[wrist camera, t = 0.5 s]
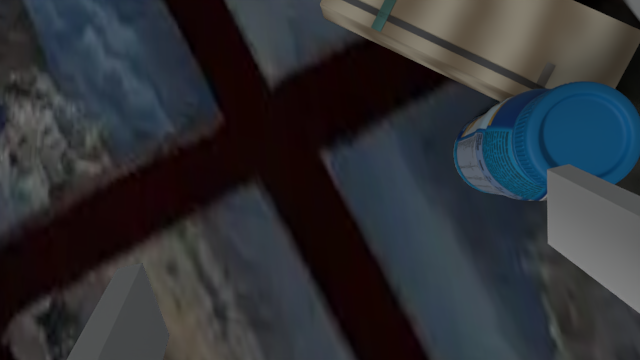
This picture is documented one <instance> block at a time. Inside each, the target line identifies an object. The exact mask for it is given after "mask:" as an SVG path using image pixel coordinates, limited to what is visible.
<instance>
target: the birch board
mask: <svg viewBox="0 0 640 360" xmlns="http://www.w3.org/2000/svg"><path fill="white" fill-rule="evenodd" d="M320 5H321V8H322V12H323V15H324V18H325V19H327V20H329V21H331V22H334V23H336V24H338V25H340V26H342V27H344V28H346V29H348V30H350V31H353V32H355V33H357V34H359V35H361V36H363V37H365V38H367V39H369V40H371V41H374V42H376V43H378V44H380V45H382V46H384V47H386V48H388V49H390V50H393V51H395V52H397V53H399V54H401V55H403V56H405V57H407V58H409V59H412V60H414V61H416V62H418V63H420V64H422V65H424V66H426V67H428V68H430V69H433V70H435V71H437V72H439V73H441V74H443V75H445V76H447V77H449V78H452V79H454V80H456V81H458V82H460V83H462V84H464V85H466V86H468V87H470V88H473V89H475V90H477V91H479V92H481V93H483V94H485V95H487V96H489V97H492V98H494V99H496V100H498V101H500V102H501V101H503V100H505V99H507V98H510V97H512V96H515V95H517V94H520V93H522V92H525V91H529V90H533V89H553V88H555V87H557V86H560V85H563V84H565V83H567V84H568V83H570V82H572V83H573V82H580V81H589V82H597V83H601V84H605V85H607V86H610V87H612V88H614V89H615V88H616V86H617V84H618V82H619V80H620V79H621V77H622V75H623V73H624V71H625V69H626V68H627V66H628V64H629V62H630V60H631V58H632V56H633V55H634V53H635V51H636V49H637V47H638V45H639V43H640V30H639V29H636V28H634V27H632V26H630V25H627V24H625V23H623V22H621V21H619V20H616V19H614V18H612V17H610V16H607V15H605V14H603V13H601V12H598V11H596V10H594V9H592V8H589V7H587V6H585V5H583V4H580V3H578V2H576V1H574V0H322V1H321V3H320Z"/></svg>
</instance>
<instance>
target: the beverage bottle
mask: <svg viewBox="0 0 640 360" xmlns="http://www.w3.org/2000/svg"><path fill="white" fill-rule="evenodd" d="M639 156H640V116H639V114H638V112H637V110H636V108H635V107H634V105H633V104H632V103H631V102H630V100H629V99H628V98H627V97H626V96H624V95H623V94H622V93H621V92H619V91H618V90H616V89H614V88H612V87H610V86H607V85H605V84H601V83H597V82H589V81H580V82H573V83H572V82H570V83H568V84H567V83H565V84H563V85H560V86H557V87H555V88H553V89H533V90H529V91H525V92H522V93H520V94H517V95H515V96H512V97H510V98H507V99H505V100H503V101H501V102H499V103H498V104H496V105H495V106H494V107H492V108H491V109H490V110H489V111H488V112H487V113H486V114H483V115H480V116H478V117H476V118H474V119H473V120H471V121H470V122H469V123H468V124H466V125H465V126H464V128H463V129H462V130H461V131H460V133H459V135H458V137H457V139H456V142H455V146H454V161H455V165H456V168H457V170H458V172H459V174H460V176H461V177H462V178H463V179H464V181H465V182H466V183H468V184H469V185H470V186H471V187H473V188H475V189H477V190H479V191H482V192H485V193H490V194H500V195H505V196H508V197H510V198H514V199H519V200H539V201H545V200H547V169H550V168H555V167H559V166H563V165H568V164H570V165H572V166H574V167H577V168H579V169H581V170H583V171H585V172H588V173H590V174H592V175H594V176H596V177H599V178H601V179H603V180H605V181H607V182H609V183H612V184H616V183H617V182H619V181H620V180H622V179H623V178H624V177H625V176H626V175H627V174H628V173H629V172H630V171H631V170H632V168H633V167H634V166H635V164H636V162H637V160H638V158H639Z"/></svg>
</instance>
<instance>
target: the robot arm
mask: <svg viewBox="0 0 640 360" xmlns="http://www.w3.org/2000/svg"><path fill="white" fill-rule="evenodd" d="M547 209H548V244H549V245H551V246H552V247H553V248H555V249H556V250H557V251H559V252H560V253H561V254H562V255H564V256H565V257H566V258H568V259H569V260H570V261H572V262H573V263H574V264H576V265H577V266H578V267H580V268H581V269H582V270H584V271H585V272H586V273H587V274H589V275H590V276H591V277H593V278H594V279H595V280H597V281H598V282H599V283H601V284H602V285H603V286H605V287H606V288H607V289H609V290H610V291H611V292H612V293H614V294H615V295H616V296H618V297H619V298H620V299H622V300H623V301H624V302H626V303H627V304H628V305H630V306H631V307H632V308H633V309H635V310H636V311H637V312H639V313H640V196H638V195H636V194H634V193H631V192H629V191H627V190H625V189H623V188H620V187H618V186H616V185H614V184H612V183H609V182H607V181H605V180H603V179H601V178H599V177H596V176H594V175H592V174H590V173H588V172H585V171H583V170H581V169H579V168H577V167H574V166H572V165H570V164H568V165H563V166H559V167H555V168H550V169H547ZM168 339H169V333H168V330H167V327H166V325H165V322H164V319H163V317H162V314H161V311H160V309H159V306H158V303H157V301H156V298H155V295H154V293H153V290H152V287H151V285H150V282H149V279H148V277H147V274H146V271H145V269H144V266H143V263H140V264H136V265H132V266H127V267H123V268H119V269H117V270H116V272H115V274H114V276H113V277H112V279H111V281H110V283H109V285H108V286H107V288H106V290H105V292H104V294H103V295H102V297H101V299H100V301H99V303H98V304H97V306H96V308H95V310H94V312H93V313H92V315H91V317H90V319H89V321H88V322H87V324H86V326H85V328H84V330H83V331H82V333H81V335H80V337H79V339H78V340H77V342H76V344H75V346H74V348H73V349H72V351H71V353H70V355H69V357H68V358H67V360H163V357H164V353H165V350H166V346H167V342H168Z"/></svg>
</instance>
